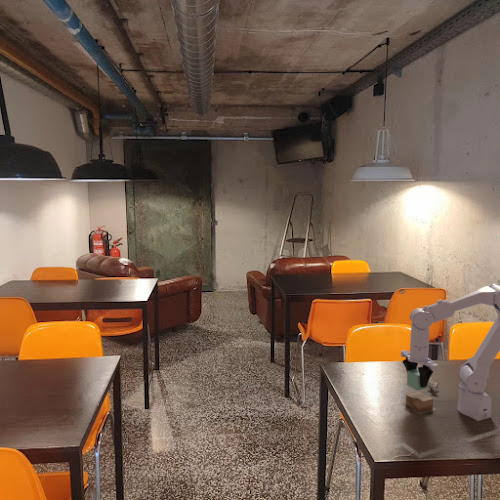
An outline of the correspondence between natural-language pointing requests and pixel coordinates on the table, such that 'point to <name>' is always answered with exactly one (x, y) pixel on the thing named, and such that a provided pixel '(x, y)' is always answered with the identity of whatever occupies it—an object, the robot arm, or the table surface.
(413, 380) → the teal block
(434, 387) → the soldier figure
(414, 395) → the walnut base block
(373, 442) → the table surface
